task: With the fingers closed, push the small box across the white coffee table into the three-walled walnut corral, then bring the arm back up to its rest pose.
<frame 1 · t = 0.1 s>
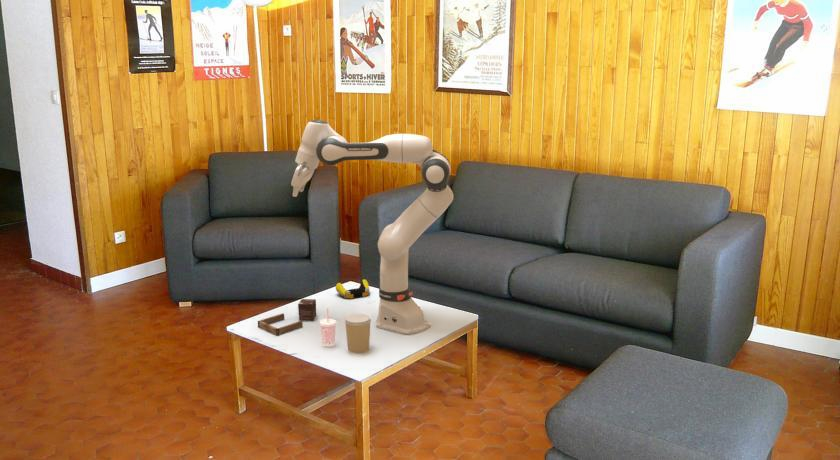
hand: (297, 193, 284), 52 cm above the table, tool tilted 20°, fingers open, 8 cm apart
gaming controller: (354, 295, 326), on the table
box: (307, 318, 298), on the table
beverage cup: (328, 344, 272), on the table
corral: (281, 326, 289), on the table
coffee cup: (358, 349, 268), on the table
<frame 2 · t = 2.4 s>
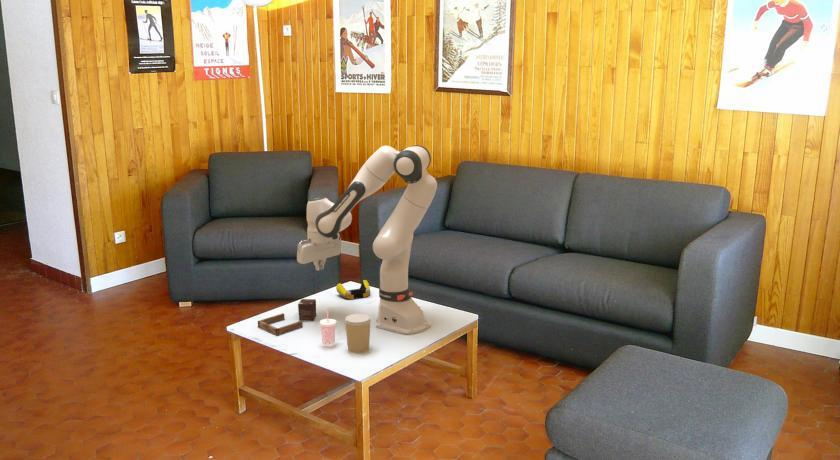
hand: (319, 269, 298), 19 cm above the table, tool pointing down, fingers closed
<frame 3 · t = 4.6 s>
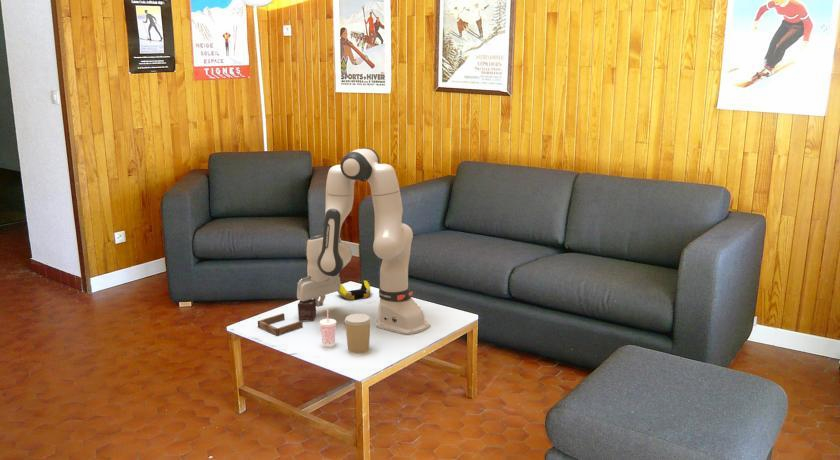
hand: (319, 305, 301), 4 cm above the table, tool pointing down, fingers closed
box: (307, 318, 298), on the table, touching gripper
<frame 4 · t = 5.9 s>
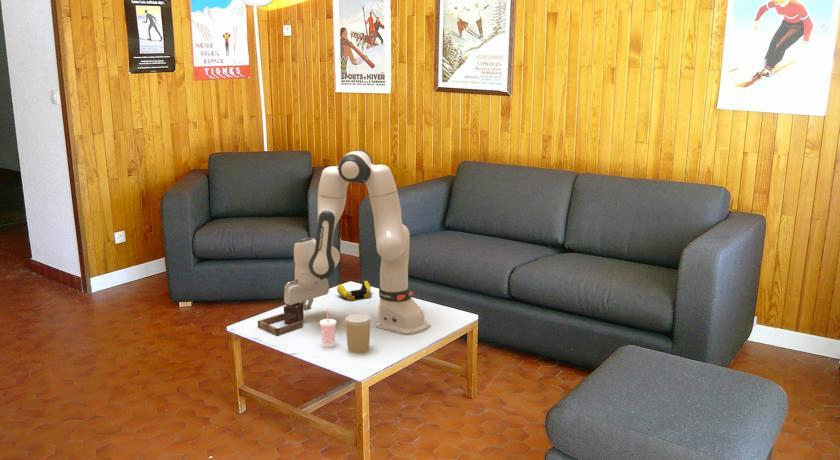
hand: (307, 309, 297), 4 cm above the table, tool pointing down, fingers closed
box: (294, 322, 294), on the table, touching gripper
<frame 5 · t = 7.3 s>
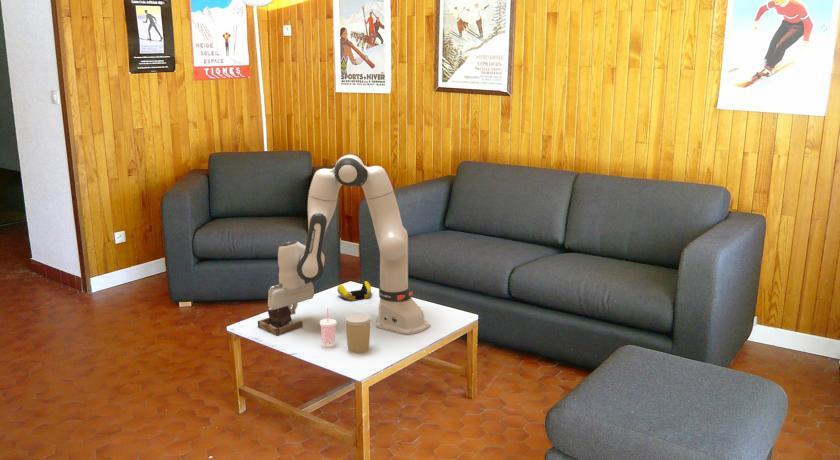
hand: (292, 314, 292), 4 cm above the table, tool pointing down, fingers closed
box: (281, 323, 291), on the table, touching gripper
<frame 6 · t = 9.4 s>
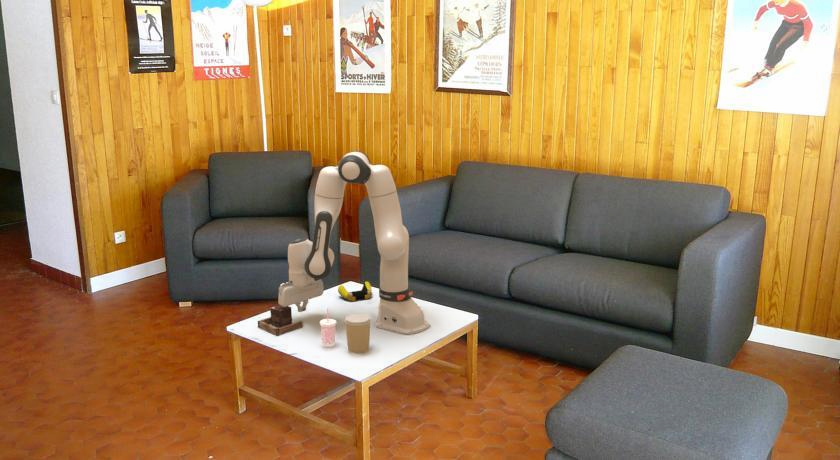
hand: (302, 311, 295), 4 cm above the table, tool pointing down, fingers closed
box: (281, 325, 291), on the table
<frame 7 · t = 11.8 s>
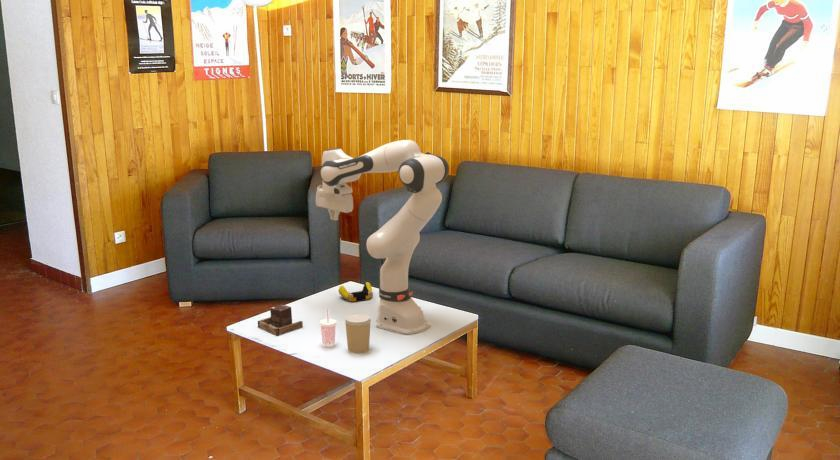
hand: (334, 219, 306), 37 cm above the table, tool pointing down, fingers closed
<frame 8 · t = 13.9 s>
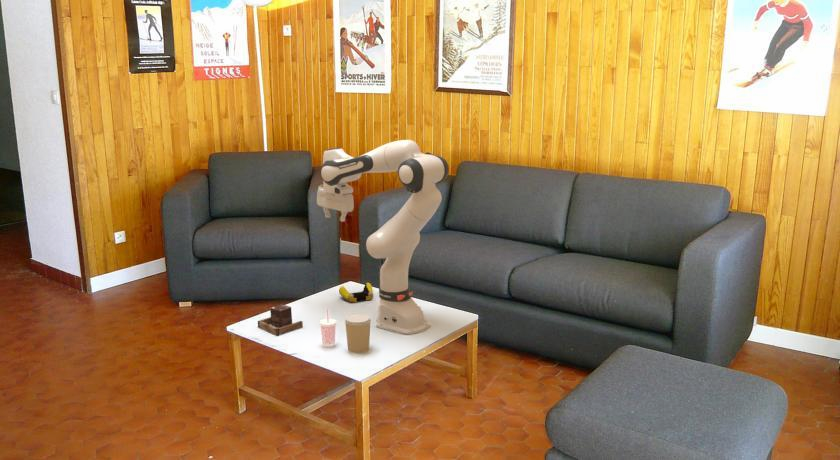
hand: (335, 219, 306), 37 cm above the table, tool pointing down, fingers open, 8 cm apart
at the end: box inside the target area on the corral (2.3 cm from its centre), point 0.0 cm above the corral's base; box tilted 0°; box moved 11.6 cm from its start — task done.
